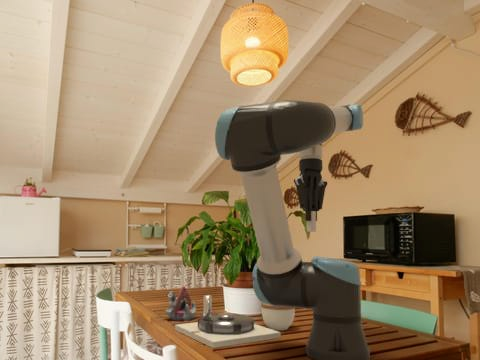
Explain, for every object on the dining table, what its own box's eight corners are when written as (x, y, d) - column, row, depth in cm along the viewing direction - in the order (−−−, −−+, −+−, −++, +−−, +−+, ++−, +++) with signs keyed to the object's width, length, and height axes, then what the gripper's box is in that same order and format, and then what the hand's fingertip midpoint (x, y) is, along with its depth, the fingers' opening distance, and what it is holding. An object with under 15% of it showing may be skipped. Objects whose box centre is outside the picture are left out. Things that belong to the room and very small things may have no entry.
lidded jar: (297, 326, 133) (297, 296, 135) (292, 333, 123) (292, 301, 125) (265, 323, 136) (265, 294, 138) (257, 330, 126) (257, 299, 127)
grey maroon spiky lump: (192, 315, 136) (174, 284, 140) (168, 334, 138) (151, 303, 142) (207, 310, 146) (189, 281, 150) (184, 327, 148) (168, 299, 152)
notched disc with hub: (238, 320, 133) (239, 290, 134) (263, 331, 118) (263, 297, 119) (191, 323, 126) (192, 292, 127) (210, 336, 111) (211, 300, 112)
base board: (280, 337, 118) (280, 331, 118) (213, 348, 106) (213, 341, 106) (235, 322, 138) (235, 317, 138) (174, 329, 126) (174, 324, 126)
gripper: (317, 163, 142) (318, 231, 139) (287, 158, 135) (288, 231, 132) (333, 159, 136) (334, 231, 133) (303, 155, 129) (303, 231, 126)
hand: (311, 231), depth 132 cm, fingers closed
